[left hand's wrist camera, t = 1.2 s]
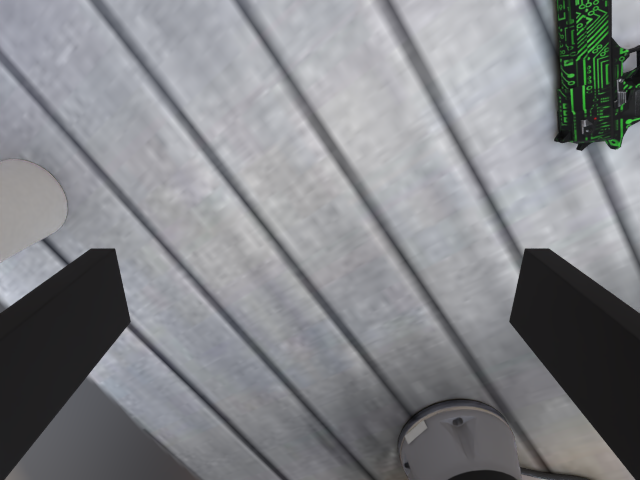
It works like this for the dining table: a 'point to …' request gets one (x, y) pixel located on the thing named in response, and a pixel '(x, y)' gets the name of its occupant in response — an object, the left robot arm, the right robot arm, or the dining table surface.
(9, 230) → the jar
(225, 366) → the dining table surface
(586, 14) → the handgun
